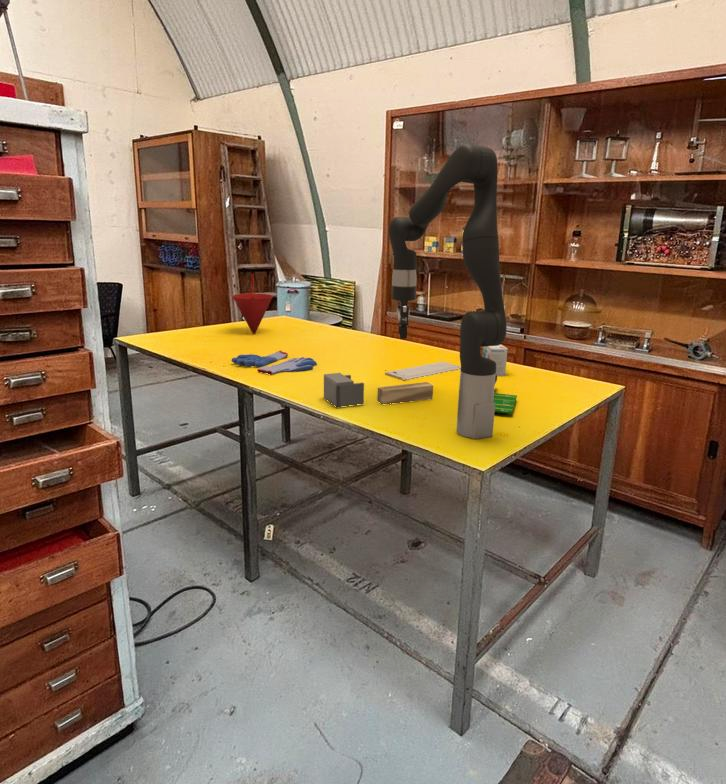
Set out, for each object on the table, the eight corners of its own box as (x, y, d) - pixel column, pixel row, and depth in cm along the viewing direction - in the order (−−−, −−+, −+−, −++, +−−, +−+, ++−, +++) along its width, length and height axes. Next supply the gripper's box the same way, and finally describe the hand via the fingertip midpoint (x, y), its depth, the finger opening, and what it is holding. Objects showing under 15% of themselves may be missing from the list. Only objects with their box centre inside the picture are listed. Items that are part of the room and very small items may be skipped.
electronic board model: (513, 395, 168) (462, 390, 172) (511, 417, 170) (460, 411, 174) (521, 372, 195) (476, 367, 199) (519, 391, 197) (475, 386, 201)
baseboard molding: (464, 371, 225) (442, 365, 234) (465, 363, 224) (442, 358, 233) (406, 383, 206) (384, 376, 215) (407, 375, 205) (384, 368, 214)
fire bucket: (233, 331, 292) (230, 271, 284) (271, 330, 297) (270, 271, 288) (234, 339, 272) (231, 275, 264) (276, 338, 277) (274, 275, 268)
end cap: (363, 404, 179) (364, 380, 176) (336, 408, 175) (336, 383, 173) (349, 395, 188) (349, 371, 186) (323, 398, 184) (323, 374, 182)
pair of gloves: (327, 367, 226) (327, 358, 225) (278, 379, 207) (278, 369, 206) (273, 354, 245) (273, 346, 244) (224, 364, 226) (223, 355, 225)
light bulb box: (480, 369, 225) (482, 342, 222) (497, 369, 226) (499, 342, 223) (488, 376, 215) (490, 348, 212) (505, 376, 216) (508, 348, 213)
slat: (432, 399, 186) (433, 385, 185) (382, 406, 179) (383, 390, 177) (426, 396, 190) (426, 382, 188) (377, 402, 182) (377, 387, 181)
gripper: (418, 286, 170) (416, 340, 175) (414, 282, 184) (412, 332, 188) (392, 286, 170) (391, 340, 175) (391, 282, 184) (389, 332, 189)
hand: (402, 336), depth 182 cm, fingers open, 8 cm apart
